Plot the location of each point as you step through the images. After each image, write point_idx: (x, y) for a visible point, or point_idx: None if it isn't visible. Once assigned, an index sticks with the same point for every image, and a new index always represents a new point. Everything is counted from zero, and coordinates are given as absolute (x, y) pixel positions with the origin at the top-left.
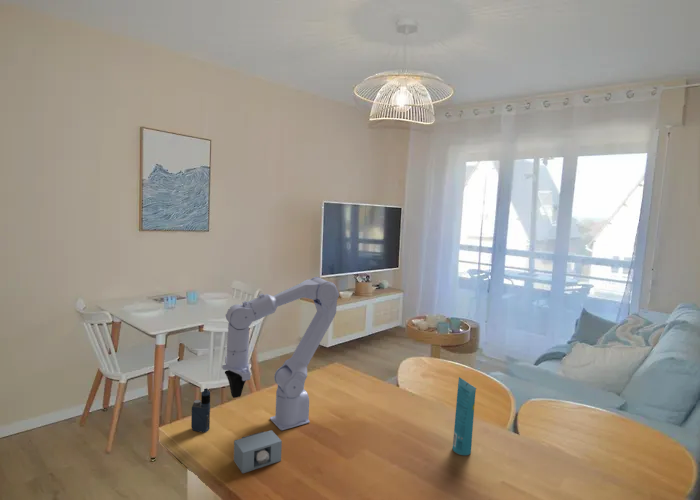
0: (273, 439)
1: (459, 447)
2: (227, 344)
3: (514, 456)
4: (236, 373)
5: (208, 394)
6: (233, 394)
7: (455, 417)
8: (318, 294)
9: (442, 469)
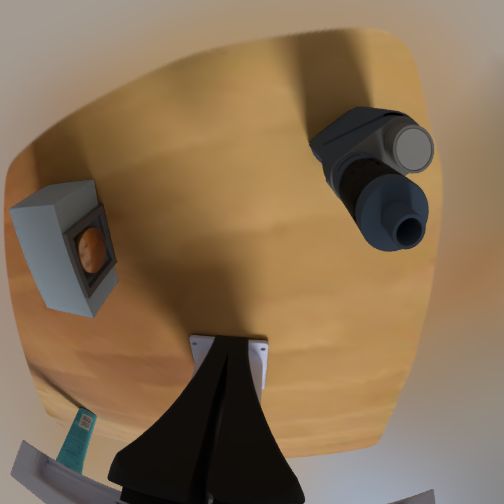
0: (53, 297)
1: (78, 413)
2: None
3: None
4: (142, 501)
5: (358, 223)
6: (207, 353)
7: (82, 441)
8: None
9: (58, 386)
